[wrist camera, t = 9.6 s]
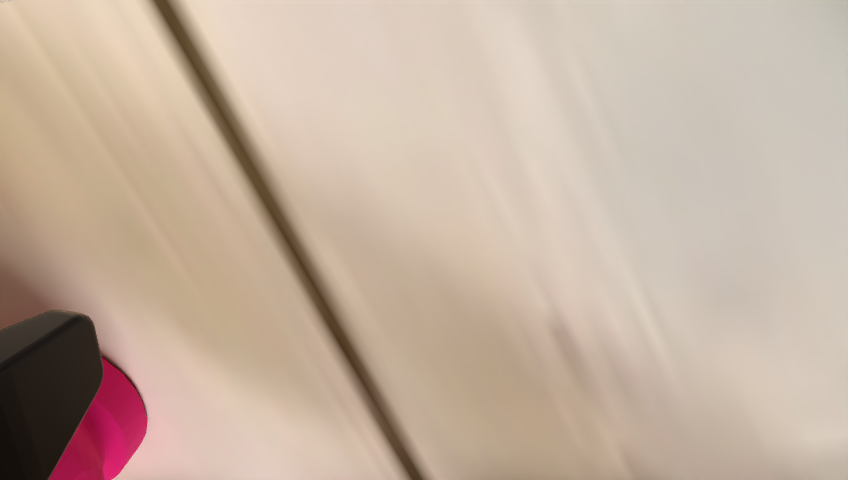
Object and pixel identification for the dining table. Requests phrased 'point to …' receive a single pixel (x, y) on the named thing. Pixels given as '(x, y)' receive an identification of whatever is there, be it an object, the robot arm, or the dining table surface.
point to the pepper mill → (105, 432)
